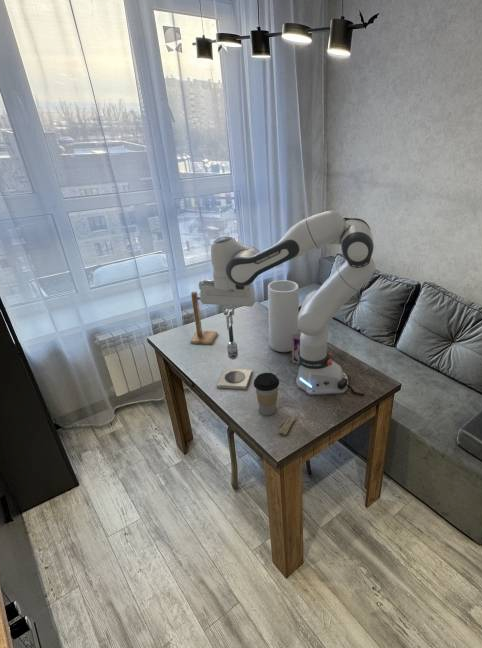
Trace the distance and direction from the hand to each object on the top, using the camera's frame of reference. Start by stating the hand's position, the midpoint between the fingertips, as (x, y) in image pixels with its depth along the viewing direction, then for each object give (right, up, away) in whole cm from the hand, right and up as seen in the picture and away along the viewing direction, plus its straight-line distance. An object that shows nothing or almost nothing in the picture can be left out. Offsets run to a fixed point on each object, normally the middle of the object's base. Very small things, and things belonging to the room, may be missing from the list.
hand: (229, 314), depth 154 cm
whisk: (-1, -18, +11) cm, 21 cm away
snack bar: (+23, -42, -7) cm, 49 cm away
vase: (+17, -13, +41) cm, 46 cm away
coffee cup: (+15, -37, 0) cm, 40 cm away
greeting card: (+28, -20, +29) cm, 46 cm away
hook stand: (-21, -9, +43) cm, 49 cm away
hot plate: (-1, -27, +16) cm, 31 cm away
